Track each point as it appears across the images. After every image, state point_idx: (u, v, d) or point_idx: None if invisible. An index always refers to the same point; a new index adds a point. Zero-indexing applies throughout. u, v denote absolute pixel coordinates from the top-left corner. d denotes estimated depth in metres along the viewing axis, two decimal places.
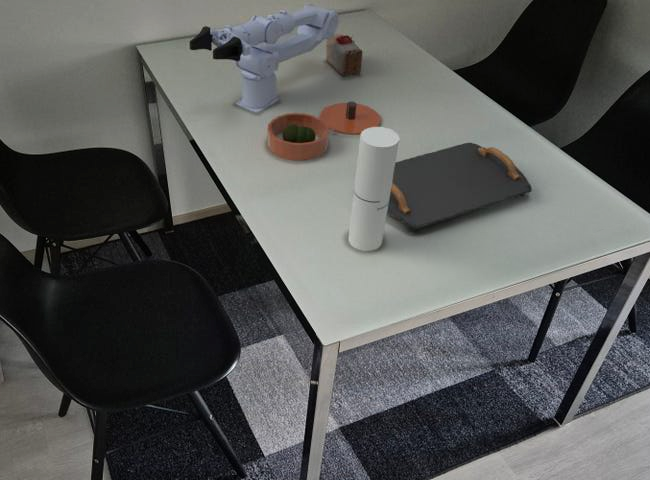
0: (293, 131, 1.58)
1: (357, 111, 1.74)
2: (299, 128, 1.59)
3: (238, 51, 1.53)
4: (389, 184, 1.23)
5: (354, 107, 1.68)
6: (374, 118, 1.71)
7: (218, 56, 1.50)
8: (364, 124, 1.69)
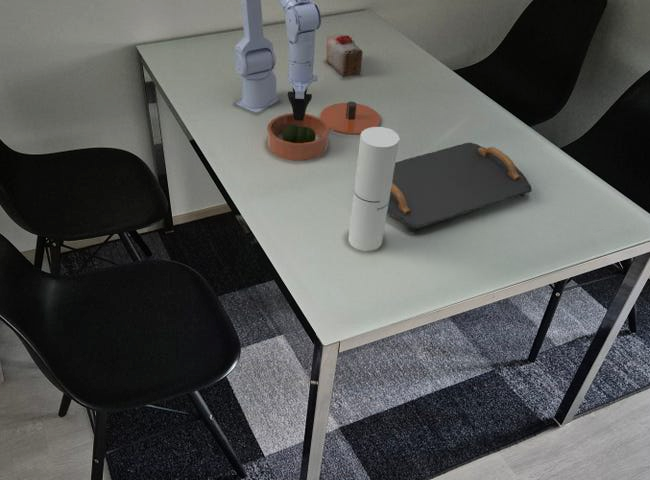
0: (293, 131, 1.58)
1: (357, 111, 1.74)
2: (299, 128, 1.59)
3: None
4: (389, 184, 1.23)
5: (354, 107, 1.68)
6: (374, 118, 1.71)
7: None
8: (364, 124, 1.69)
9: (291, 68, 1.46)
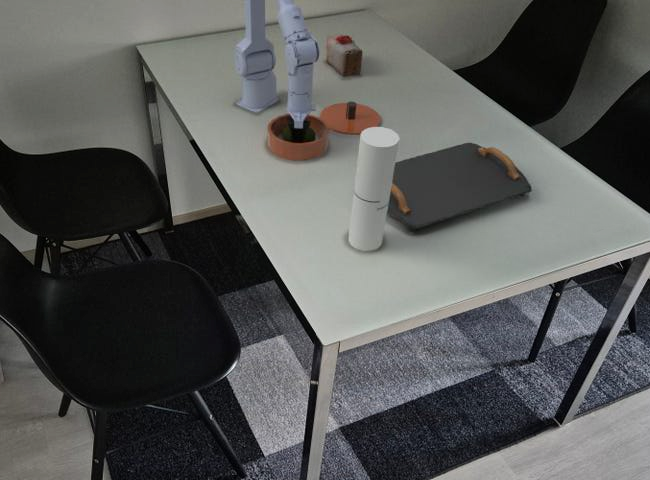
0: None
1: (357, 111, 1.74)
2: None
3: None
4: (389, 184, 1.23)
5: (354, 107, 1.68)
6: (374, 118, 1.71)
7: None
8: (364, 124, 1.69)
9: (290, 98, 1.52)
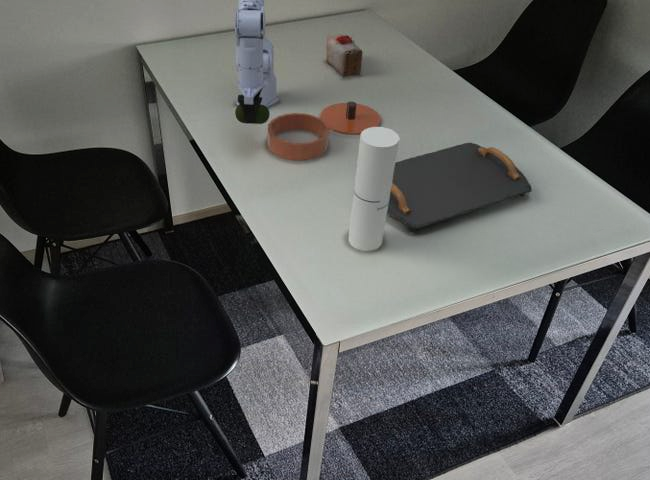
0: None
1: (357, 111, 1.74)
2: None
3: None
4: (389, 184, 1.23)
5: (354, 107, 1.68)
6: (374, 118, 1.71)
7: None
8: (364, 124, 1.69)
9: (240, 73, 1.45)
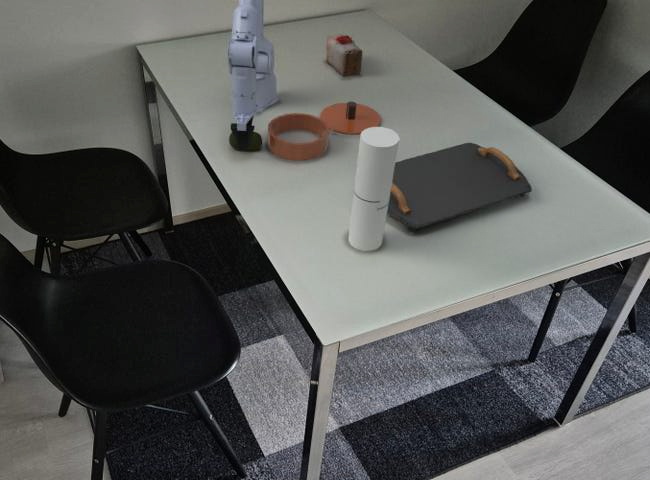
0: None
1: (357, 111, 1.74)
2: None
3: None
4: (389, 184, 1.23)
5: (354, 107, 1.68)
6: (374, 118, 1.71)
7: None
8: (364, 124, 1.69)
9: (233, 100, 1.50)
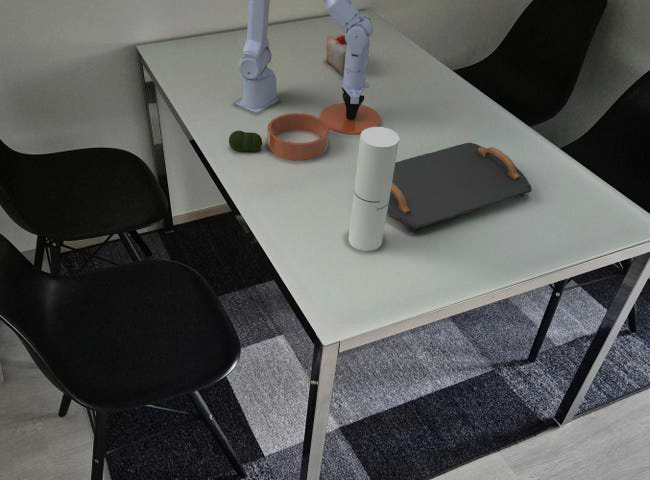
0: (238, 139, 1.56)
1: None
2: (245, 135, 1.56)
3: None
4: (389, 184, 1.23)
5: None
6: (374, 118, 1.71)
7: None
8: (364, 124, 1.69)
9: (346, 76, 1.61)
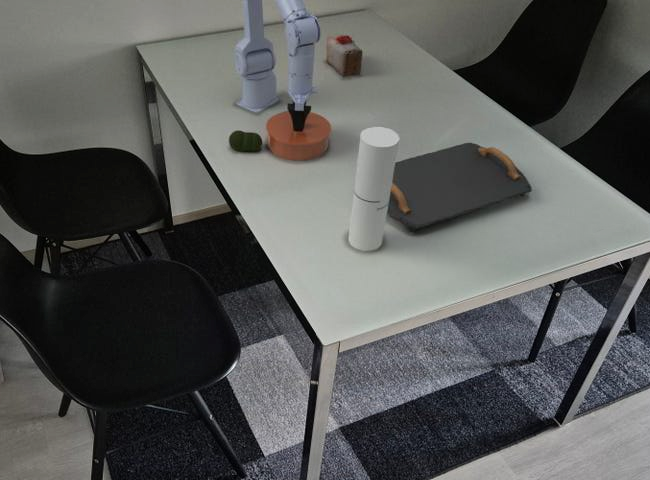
0: (238, 139, 1.56)
1: (307, 120, 1.61)
2: (245, 135, 1.56)
3: None
4: (389, 184, 1.23)
5: None
6: (324, 127, 1.58)
7: None
8: (312, 134, 1.56)
9: (290, 80, 1.48)
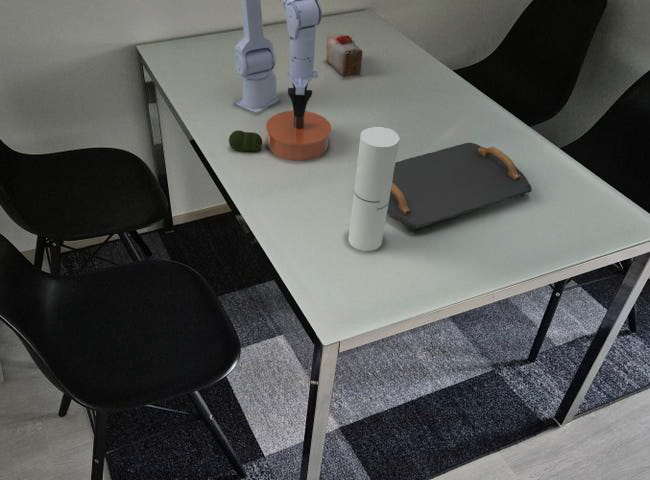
0: (238, 138, 1.56)
1: (307, 120, 1.61)
2: (245, 135, 1.56)
3: None
4: (389, 184, 1.23)
5: None
6: (324, 127, 1.58)
7: None
8: (312, 134, 1.56)
9: (291, 64, 1.46)
